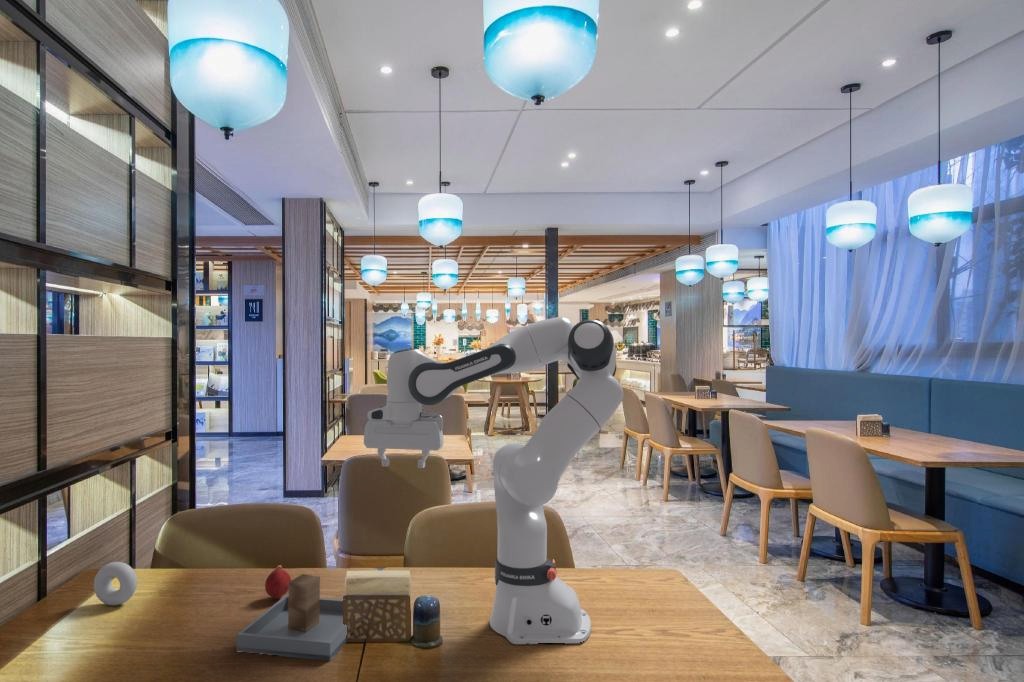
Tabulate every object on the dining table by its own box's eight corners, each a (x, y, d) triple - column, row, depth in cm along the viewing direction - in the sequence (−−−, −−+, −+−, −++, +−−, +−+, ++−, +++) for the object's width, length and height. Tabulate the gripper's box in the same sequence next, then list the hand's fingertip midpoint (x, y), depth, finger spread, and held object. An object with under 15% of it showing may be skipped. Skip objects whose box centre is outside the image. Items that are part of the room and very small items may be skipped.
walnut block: (319, 622, 121) (319, 576, 121) (306, 632, 116) (306, 584, 117) (301, 619, 122) (302, 574, 122) (288, 629, 118) (288, 582, 118)
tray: (367, 616, 125) (367, 601, 126) (330, 661, 108) (330, 643, 108) (285, 610, 128) (285, 594, 128) (236, 652, 111) (236, 634, 111)
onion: (272, 606, 130) (273, 572, 130) (260, 599, 133) (260, 566, 134) (295, 598, 135) (296, 565, 135) (282, 591, 138) (283, 559, 138)
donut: (140, 602, 132) (141, 560, 132) (129, 609, 128) (130, 565, 128) (101, 600, 132) (102, 558, 133) (89, 607, 129) (90, 564, 129)
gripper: (446, 411, 142) (446, 465, 142) (371, 409, 145) (370, 462, 145) (440, 414, 136) (439, 471, 136) (361, 412, 139) (360, 467, 139)
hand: (403, 466), depth 140 cm, fingers open, 8 cm apart
